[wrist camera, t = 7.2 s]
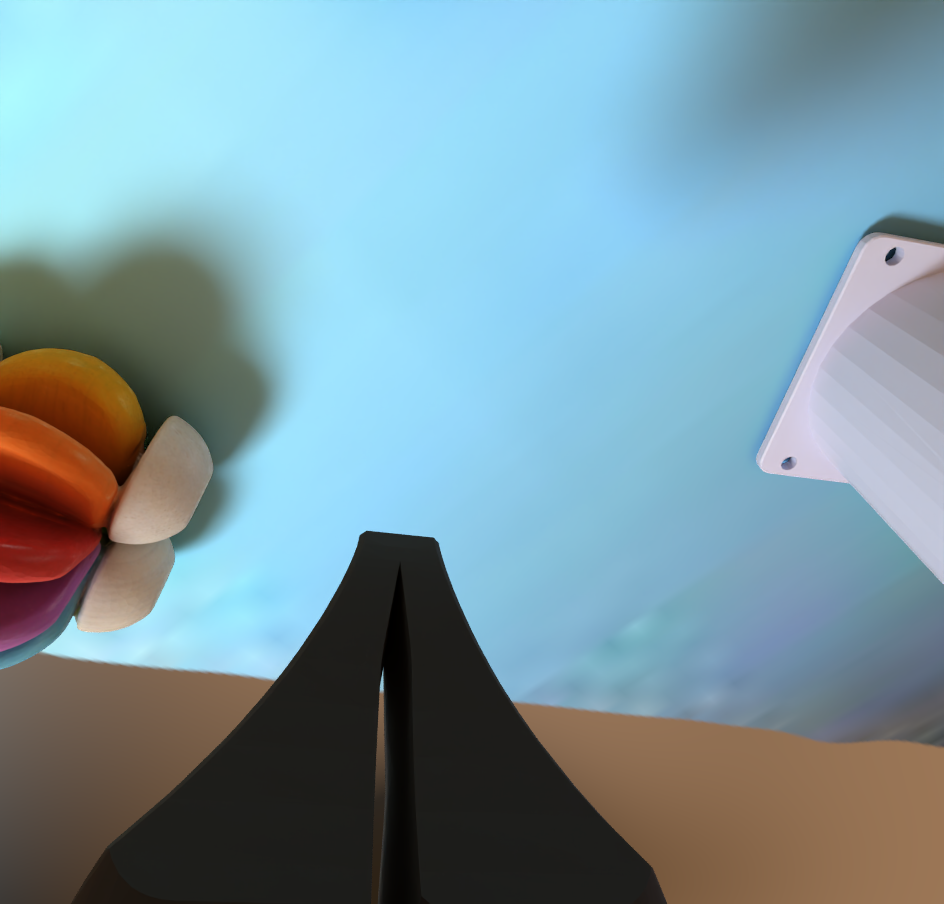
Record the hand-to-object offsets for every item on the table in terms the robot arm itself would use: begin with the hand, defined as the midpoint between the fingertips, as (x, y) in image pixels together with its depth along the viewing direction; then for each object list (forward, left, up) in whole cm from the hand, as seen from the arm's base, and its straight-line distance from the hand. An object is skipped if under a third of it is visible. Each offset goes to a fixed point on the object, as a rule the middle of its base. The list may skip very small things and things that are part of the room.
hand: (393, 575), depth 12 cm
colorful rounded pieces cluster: (+10, +5, -10) cm, 15 cm away
